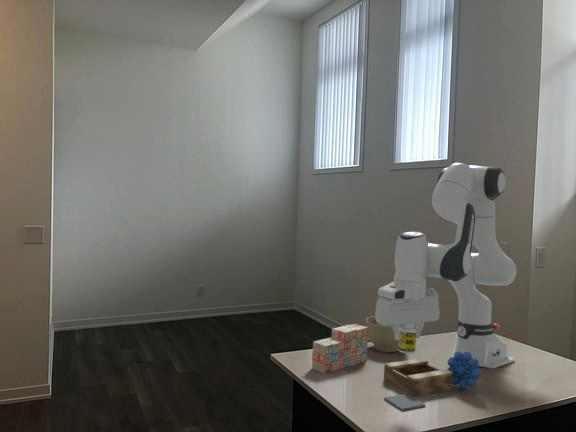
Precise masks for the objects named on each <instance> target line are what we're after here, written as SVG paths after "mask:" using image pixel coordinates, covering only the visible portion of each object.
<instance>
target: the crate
mask: <svg viewBox="0 0 576 432" xmlns="http://www.w3.org/2000/svg"><path fill="white" fill-rule="evenodd" d="M383 371H384V372H383V380H384V381H385V382H386V383H388V384H390V385H392V386H394V387H395V388H397V389H399V390H400V391H402V392H404V394H408V395H410V396H412V397H414V398H415V397H419V396H427V395H430V394H437V393H443V392H447V391H452V390H453V384H452V377H453V373H452V372H450V371H448V370H447V368H446V369H440V368H438V367H437V366H434V365H432V364H430V363H429V361H428V360H426V359H425V358H423V357H421V358H413V359H408V360H400V361H392V362H386V363H384V369H383Z"/></svg>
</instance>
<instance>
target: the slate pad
mask: <svg viewBox="0 0 576 432" xmlns="http://www.w3.org/2000/svg"><path fill="white" fill-rule="evenodd" d="M383 400H384V401H386V402H387V403H389V404H390V405H392V406H393V407H395V408H397V409H398V410H400V411H401V412H404V411H409V410H414V409H415V410H416V409H419V408H425V407H426V404H425V403H424V402H422V401H421V400H418V399H417V398H415V397H412V396H410V395H409V394H407V393H403V394H397V395H396V394H395V395H391V396H385V397H384V399H383Z"/></svg>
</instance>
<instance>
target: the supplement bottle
mask: <svg viewBox="0 0 576 432" xmlns="http://www.w3.org/2000/svg"><path fill="white" fill-rule="evenodd" d="M415 328H416V324H415V323H409V324H401V327H400V328H399V332H400V333H402V334H403V336H402V340H398V352H400V353H403V354H409V355H410V354H411V355H412V354H414V353H415V352H416V341H417V338H416V329H415Z"/></svg>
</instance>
